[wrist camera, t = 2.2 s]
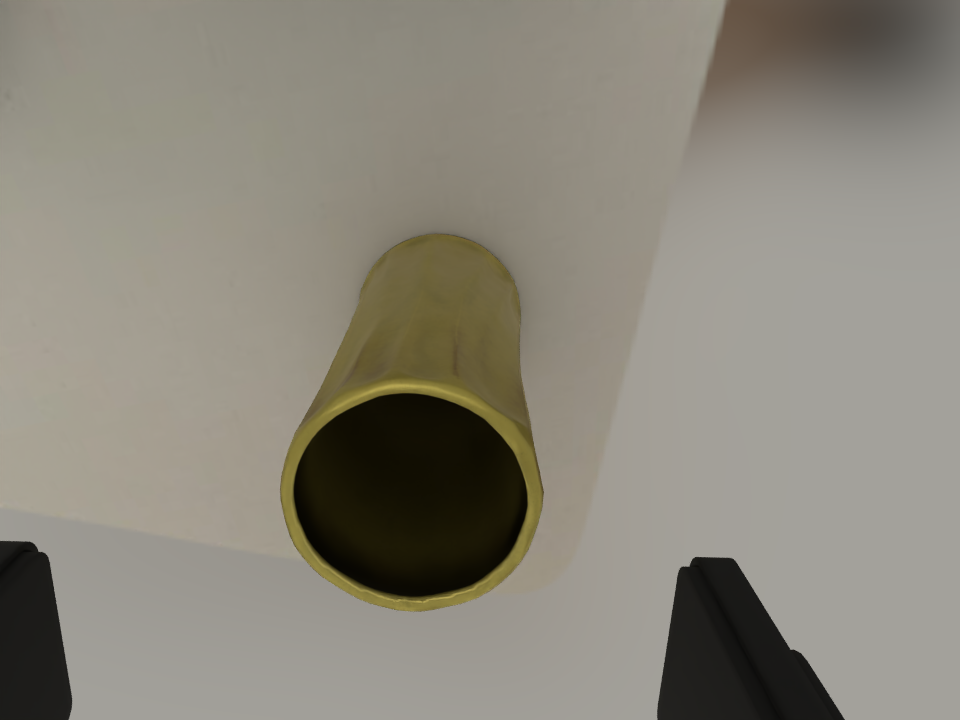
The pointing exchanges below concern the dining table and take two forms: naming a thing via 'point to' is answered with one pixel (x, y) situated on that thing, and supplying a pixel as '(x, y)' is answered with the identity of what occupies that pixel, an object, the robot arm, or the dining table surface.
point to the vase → (419, 436)
